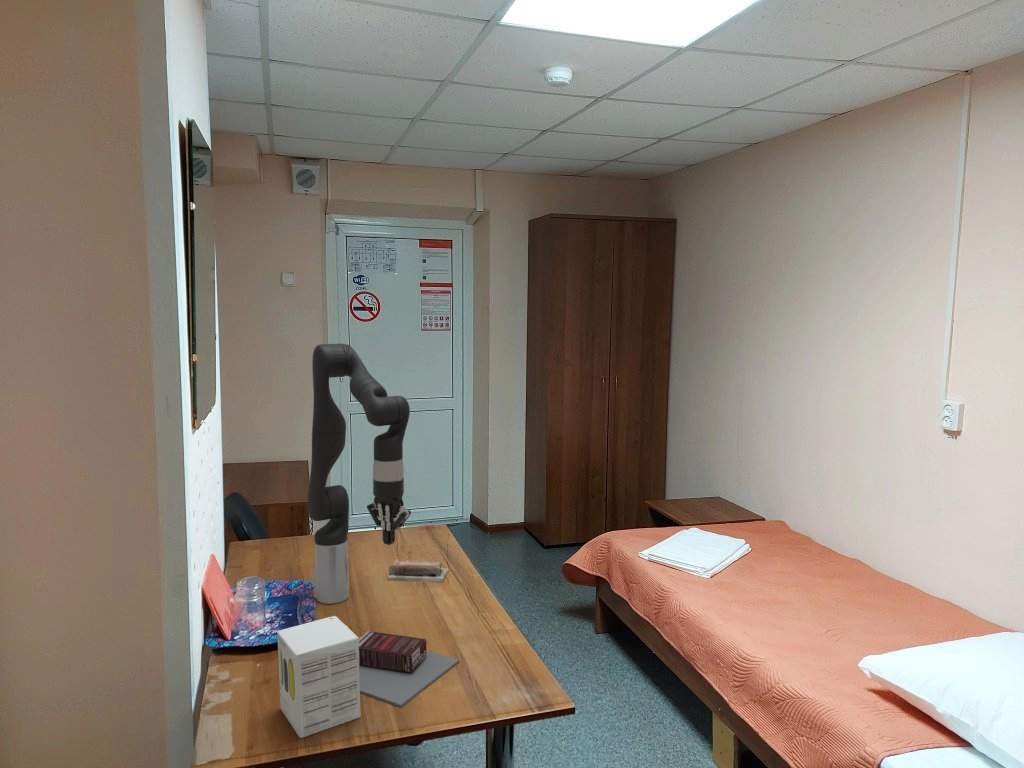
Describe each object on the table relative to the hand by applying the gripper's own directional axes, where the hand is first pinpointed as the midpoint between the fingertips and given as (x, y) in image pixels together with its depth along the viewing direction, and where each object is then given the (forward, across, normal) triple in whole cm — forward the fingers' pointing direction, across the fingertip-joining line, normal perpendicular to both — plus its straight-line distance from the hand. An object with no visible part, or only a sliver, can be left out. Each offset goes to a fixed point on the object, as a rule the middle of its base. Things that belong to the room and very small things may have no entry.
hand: (388, 543), depth 176 cm
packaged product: (+28, -22, +39) cm, 52 cm away
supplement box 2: (+23, 0, -11) cm, 25 cm away
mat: (+26, +12, -11) cm, 30 cm away
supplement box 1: (+26, +9, -32) cm, 42 cm away
